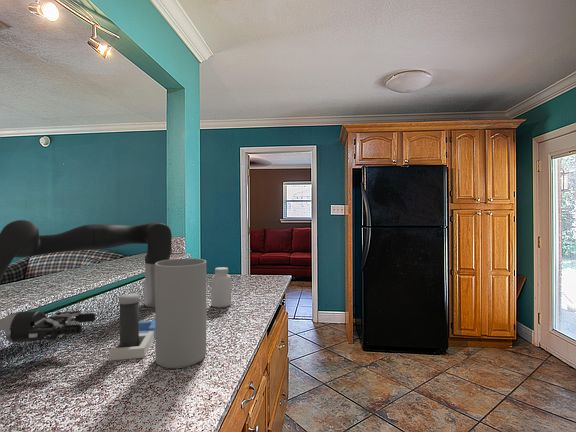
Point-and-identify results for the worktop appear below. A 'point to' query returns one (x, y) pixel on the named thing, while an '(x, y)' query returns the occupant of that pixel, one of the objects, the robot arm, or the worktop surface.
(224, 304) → the pill bottle
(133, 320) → the grey capped cylinder
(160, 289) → the cylinder vase
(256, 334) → the worktop surface
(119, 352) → the blue grey comb bracket
